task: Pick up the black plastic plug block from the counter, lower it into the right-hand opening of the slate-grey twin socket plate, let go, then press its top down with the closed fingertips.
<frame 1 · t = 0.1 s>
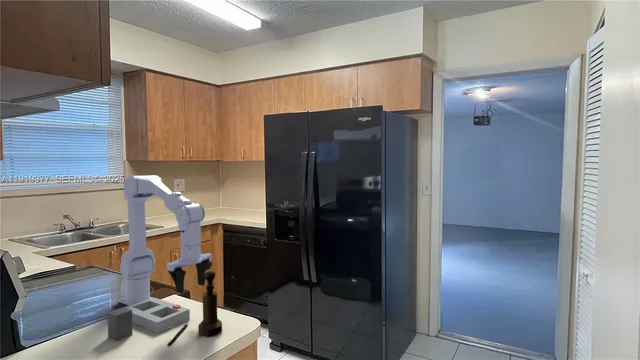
hand: (190, 288, 108), 10 cm above the worktop, tool pointing down, fingers open, 7 cm apart
plug: (120, 336, 99), on the worktop
dark brown pepper mill: (210, 332, 102), on the worktop
thin black rod: (178, 336, 100), on the worktop
socket plate: (155, 318, 110), on the worktop
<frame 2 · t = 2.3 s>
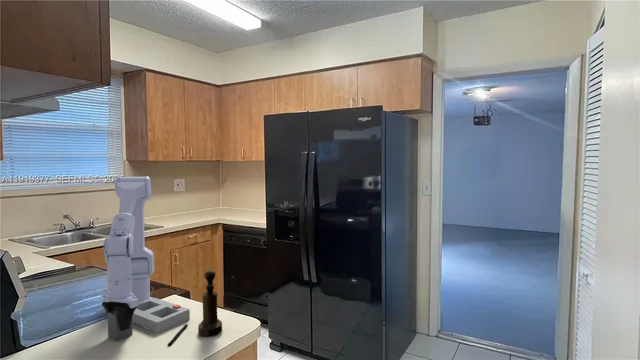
hand: (120, 327, 99), 2 cm above the worktop, tool pointing down, fingers closed on plug, 4 cm apart
plug: (120, 336, 99), on the worktop, touching gripper
everything else where it was.
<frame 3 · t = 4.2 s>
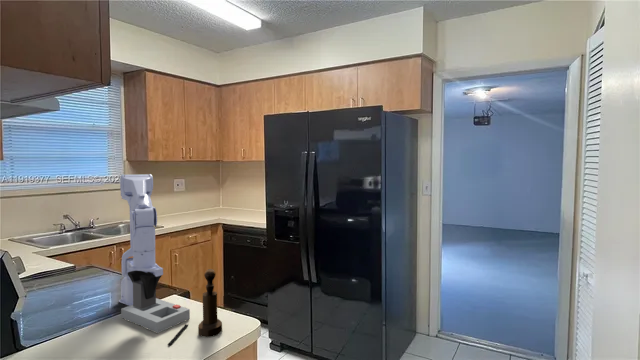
hand: (144, 296, 103), 9 cm above the worktop, tool pointing down, fingers closed on plug, 4 cm apart
plug: (144, 304, 103), point 7 cm above the worktop, touching gripper
everything else where it was.
when the fingers open (4 cm above the worktop, at t = 6.4 s): plug stays where it is, resting on socket plate.
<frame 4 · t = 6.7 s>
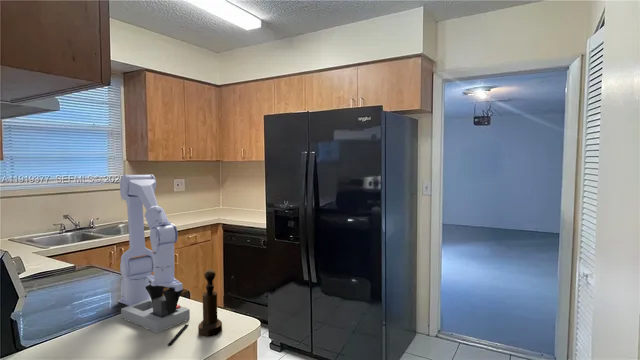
hand: (164, 309, 108), 4 cm above the worktop, tool pointing down, fingers open, 6 cm apart
plug: (164, 321, 108), resting on socket plate
everything else where it was.
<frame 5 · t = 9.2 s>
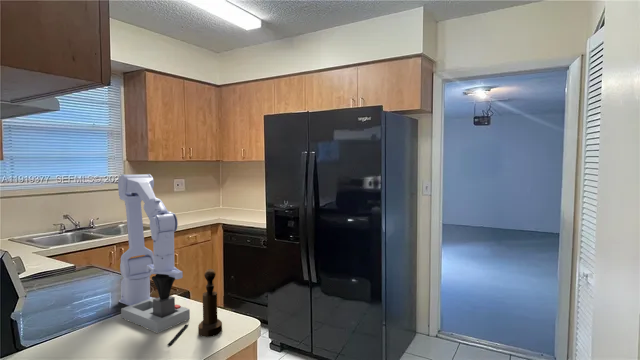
hand: (164, 298, 107), 7 cm above the worktop, tool pointing down, fingers closed, pressing on plug
plug: (164, 321, 108), resting on socket plate, touching gripper
everything else where it was.
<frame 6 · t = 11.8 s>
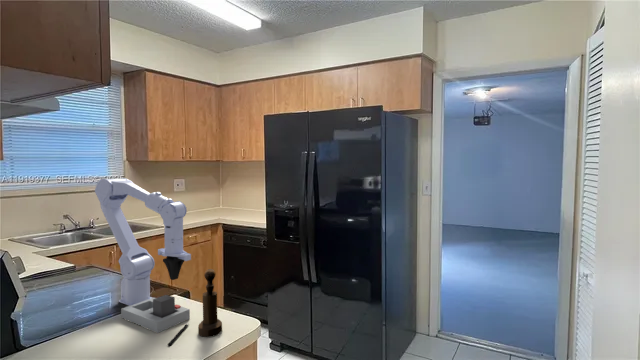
hand: (174, 278, 119), 9 cm above the worktop, tool pointing down, fingers closed
plug: (164, 321, 108), resting on socket plate
everything else where it was.
at the end: plug 0.2 cm from the target spot on the socket plate, point 0.3 cm above the socket plate's base; plug tilted 0°; the gripper is holding nothing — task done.
